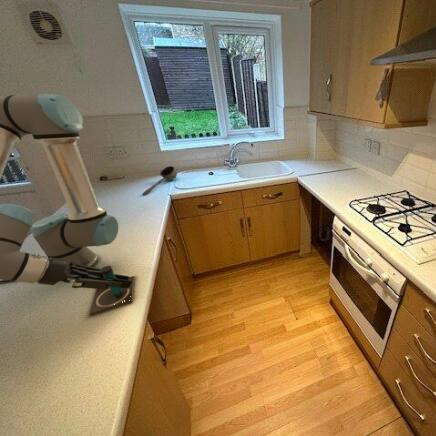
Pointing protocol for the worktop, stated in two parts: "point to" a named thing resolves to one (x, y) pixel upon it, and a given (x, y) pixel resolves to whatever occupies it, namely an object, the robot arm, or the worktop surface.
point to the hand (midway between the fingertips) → (128, 282)
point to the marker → (109, 273)
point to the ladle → (164, 177)
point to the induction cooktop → (111, 298)
